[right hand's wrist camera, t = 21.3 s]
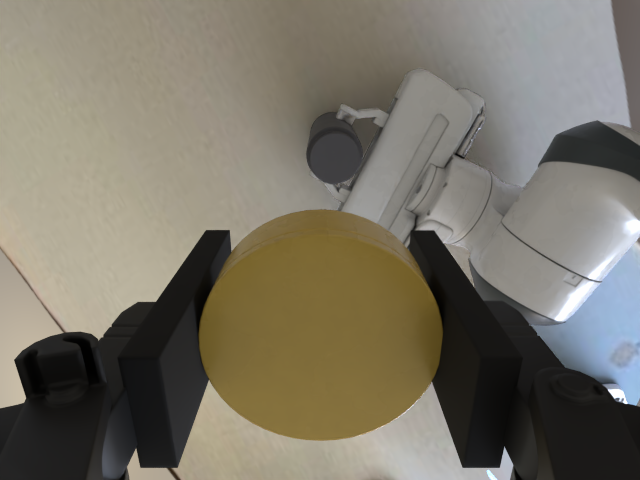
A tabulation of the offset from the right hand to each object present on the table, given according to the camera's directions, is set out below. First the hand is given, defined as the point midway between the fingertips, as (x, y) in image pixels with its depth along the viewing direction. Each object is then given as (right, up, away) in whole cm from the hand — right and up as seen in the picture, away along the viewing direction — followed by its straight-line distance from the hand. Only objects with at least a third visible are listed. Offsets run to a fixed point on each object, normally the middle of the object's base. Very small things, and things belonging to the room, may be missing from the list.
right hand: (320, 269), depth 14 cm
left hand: (0, +11, +30) cm, 32 cm away
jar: (+1, +13, +36) cm, 39 cm away
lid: (0, -2, -4) cm, 4 cm away
